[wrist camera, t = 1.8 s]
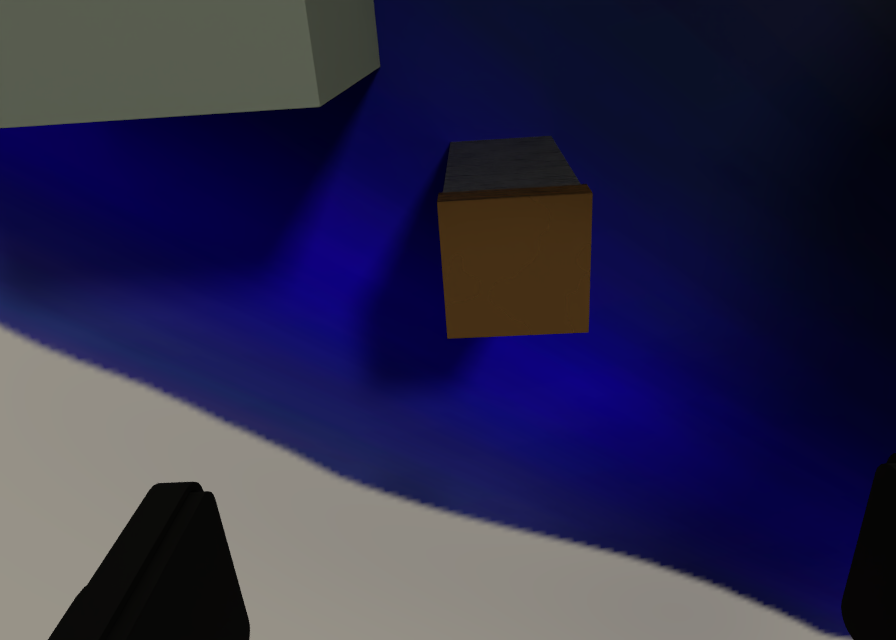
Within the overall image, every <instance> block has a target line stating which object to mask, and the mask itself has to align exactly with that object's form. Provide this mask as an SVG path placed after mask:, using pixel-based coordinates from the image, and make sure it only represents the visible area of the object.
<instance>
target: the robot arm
mask: <svg viewBox="0 0 896 640" xmlns="http://www.w3.org/2000/svg"><path fill="white" fill-rule="evenodd" d="M841 609H842V616H843V620H844V623H845V626H846V628H847V630H848V632H849V633H850V635H851V637H852V638H853V640H896V453H893V454H892V455H891V456H890V457H889V458H888V461H887V463H885V464H881V465H880V466H879V467H878V468H877V470H876V472H875V476H874V480H873V484H872V488H871V492H870V495H869V499H868V503H867V507H866V511H865V514H864V518H863V522H862V526H861V530H860V534H859V537H858V541H857V545H856V549H855V553H854V557H853V560H852V564H851V568H850V572H849V576H848V579H847V583H846V587H845V591H844V595H843V599H842V604H841ZM249 636H250V624H249V620H248V615H247V612H246V608H245V605H244V601H243V598H242V594H241V591H240V587H239V583H238V579H237V576H236V572H235V569H234V565H233V561H232V558H231V555H230V551H229V547H228V543H227V540H226V536H225V532H224V529H223V525H222V522H221V518H220V514H219V511H218V507H217V504H216V500H215V497H214V495H213V494H212V492H208V491H206V492H204V491H203V489H202V487H201V485H200V484H199V483H197V482H178V483H158V484H156V485H154V486H153V487H152V488H151V489H150V490H149V492H148V493H147V495H146V497H145V498H144V499H143V501H142V502H141V504H140V505H139V507H138V509H137V510H136V511H135V513H134V515H133V516H132V517H131V519H130V521H129V522H128V524H127V525H126V527H125V528H124V530H123V531H122V533H121V534H120V536H119V537H118V539H117V540H116V542H115V543H114V545H113V547H112V548H111V549H110V551H109V553H108V554H107V556H106V557H105V559H104V560H103V562H102V563H101V565H100V566H99V568H98V569H97V571H96V572H95V574H94V575H93V577H92V578H91V580H90V582H89V583H88V585H87V586H85V587H84V588H83V589H82V591H81V592H80V593H79V594H78V595H77V597H76V598H75V599H74V601H73V602H72V604H71V606H70V607H69V608H68V610H67V611H66V613H65V615H64V616H63V618H62V619H61V621H60V622H59V624H58V625H57V627H56V628H55V630H54V631H53V633H52V634H51V636H50V637H49V639H48V640H249Z"/></svg>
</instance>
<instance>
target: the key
mask: <svg viewBox="0 0 896 640" xmlns="http://www.w3.org/2000/svg"><path fill="white" fill-rule="evenodd" d="M437 207H438V220H439V234H440V247H441V260H442V273H443V286H444V299H445V312H446V325H447V339H451V338H473V337H495V336H517V335H539V334H561V333H583V332H588V331H589V297H590V262H591V227H592V192H591V190H590V189H589V187H588V186H587V184H580V182H579V181H578V179H577V177H576V176H575V174H574V172H573V171H572V169H571V168H570V166H569V164H568V163H567V161H566V159H565V158H564V156H563V155H562V153H561V151H560V150H559V148H558V146H557V145H556V143H555V141H554V140H553V138H552V137H551V136H540V137H524V138H509V139H493V140H477V141H461V142H451V143H450V149H449V156H448V162H447V169H446V176H445V182H444V189H443V192H442V193H439V194H438V200H437Z"/></svg>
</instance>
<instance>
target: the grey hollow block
mask: <svg viewBox="0 0 896 640" xmlns="http://www.w3.org/2000/svg"><path fill="white" fill-rule="evenodd" d="M379 67H380V60H379V50H378V41H377V31H376V22H375V12H374V3H373V0H0V128H9V127H24V126H40V125H55V124H70V123H85V122H100V121H115V120H130V119H145V118H160V117H175V116H190V115H205V114H220V113H235V112H250V111H265V110H280V109H295V108H310V107H321V106H322V105H324V104H325V103H327V102H328V101H330V100H331V99H333V98H334V97H336V96H337V95H339V94H340V93H342V92H343V91H345V90H346V89H348V88H349V87H351V86H352V85H353V84H355V83H356V82H358V81H359V80H361V79H362V78H364V77H365V76H367V75H368V74H370V73H371V72H373V71H374V70H376V69H377V68H379Z"/></svg>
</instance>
